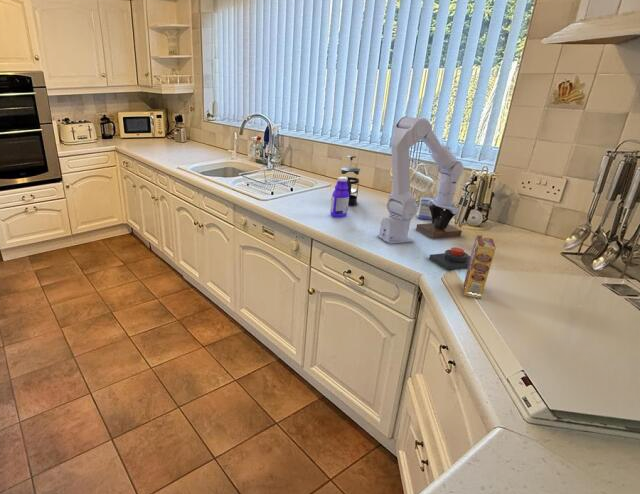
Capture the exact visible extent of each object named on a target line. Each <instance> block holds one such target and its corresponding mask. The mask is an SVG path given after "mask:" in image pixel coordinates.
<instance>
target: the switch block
mask: <svg viewBox="0 0 640 494" xmlns="http://www.w3.org/2000/svg"><path fill="white" fill-rule="evenodd" d="M450 252H451V249H446V250H444V252H443V253H433V254H429V257H428V260H430V261H431V262H433V263H434V264H436V265H438V266H439V267H441V268H443V269H444V270H446V271H448V272H449V271H450V272H451V271H457V270H465V269H466V270H467V269H468V265H469V261H470V258H471V255H469V254H468V253H467V252H465V251H464V253H463V256H455V255H452V254H450Z"/></svg>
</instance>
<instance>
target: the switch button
mask: <svg viewBox="0 0 640 494" xmlns="http://www.w3.org/2000/svg"><path fill="white" fill-rule="evenodd" d="M450 250H451V252H450V254H452V255H455V256H463V253H464V252H465V250H464V249H463V248H461V247H455V246H454V247H453V246H452V247H451V248H450Z"/></svg>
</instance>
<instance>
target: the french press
mask: <svg viewBox="0 0 640 494" xmlns="http://www.w3.org/2000/svg"><path fill="white" fill-rule="evenodd" d="M346 157H347V158H349V159H350V166H346V167H345V166H344V167H340V173H341V175H346V174H347V173H349V176H346V177H347V178H348V180H347V185H348V187H349V189H348V192H349V202H348V207H354V206H356V205H358V202H357V201H358V193H359V185H360V178H358V177H352V176H351V173H354V174H355V175H356V176H358V175H359V174H360V171H361V168H358V167H355V166H354V167H353V166H352V162H353V159H357V156H355V155H347V156H346ZM356 184H357V188H356V189H354V188H352V185H356ZM354 194H356V195H354Z"/></svg>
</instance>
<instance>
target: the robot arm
mask: <svg viewBox="0 0 640 494" xmlns="http://www.w3.org/2000/svg"><path fill="white" fill-rule="evenodd" d="M393 134H394V135H393V137H392V141H391V149H390V150H391V170H392V189H393V190H392V192H391V193H390V194H389V195H388V197H387V198H388V200H387V203H386V210H387V212H388V215H389V216H387V217H384V218H382V220H381V222H380V229H379V234H378V235H377V236H378V238H380V239H381V240H383V241H384V242H386V243H387V244H389V245H390V244H403V243H412V242H413V240H412V239H411V238H409V237H408V236H409V231H410V226H411V220H412V219H413V218H414V217H415V216H416V215H417V214H418V210H419V206H418V205H417V203H416V198H415V196H414V195H413V193H412V192H411V176H410V175H411V171H410V170H411V169H410V168H411V167H410V149H411V147H413V146H415V145H416V144H417V143H419V142H420V141H422V142H423V143H424V144H425V146H427V148H428V149H429V150H430V151H431V152H430V157H431V158H432V159H433V161H434V162H435V164H436V166H437V171H438V173H440V177H439V182H438V187H437V192H436V197H428V198H429V202H428V203H429V204H433V205H432V206H429V209H430V211H431V215H432V220H431V223H432V224H433V225H434V220H435V217H437V216H438V217H441V223H440V228H441V229H443V228H446V227H447V225H448V224H449V225H450V222H451V220H453V218H454V217H455V216H456V215H459V214H460V210H461V208H459V207H457V206H456V205H455V202H454V198H455V194H456V190H457V185H458V182H459V180H460V178H461V176H462V175H463V173H464V171H465V168H464V165H463V163H462V162H461V161H460V160H457V157H456V155H454V154H453V153H452V151H451V148H450V146H447V145H443V144H442V143H441V142H440V141H439V138H438V137H437V136H436V133H435V132H434V130H433V125H432V124H431V123H430V121H429V119H427V118H420V117H411V116H401V117H400V118H399V119H398V120H397V122H396V123H395V124H394V126H393ZM435 198H436V199H435Z"/></svg>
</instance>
